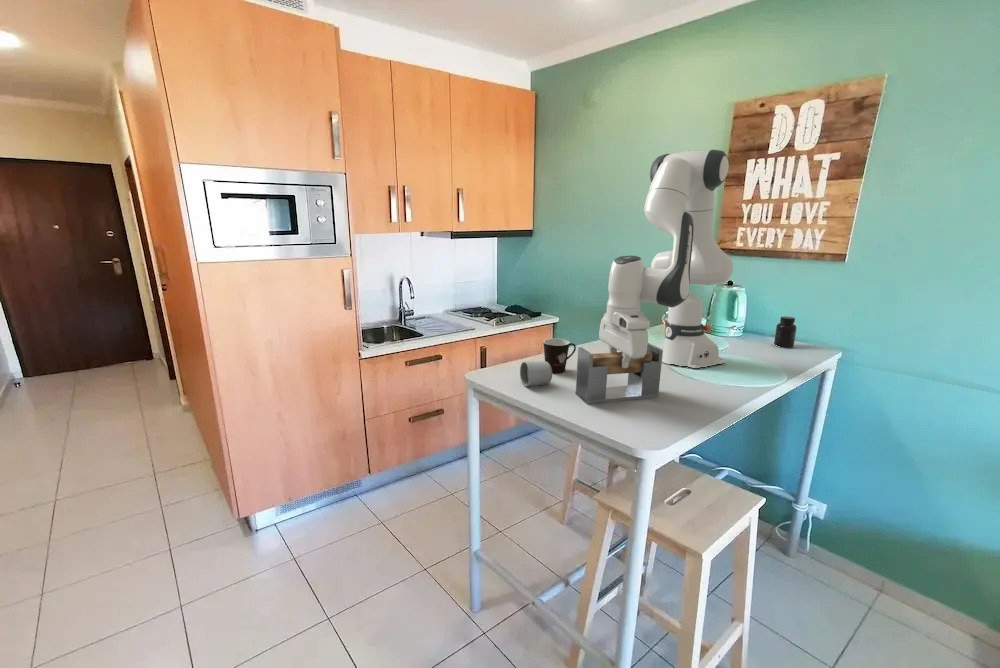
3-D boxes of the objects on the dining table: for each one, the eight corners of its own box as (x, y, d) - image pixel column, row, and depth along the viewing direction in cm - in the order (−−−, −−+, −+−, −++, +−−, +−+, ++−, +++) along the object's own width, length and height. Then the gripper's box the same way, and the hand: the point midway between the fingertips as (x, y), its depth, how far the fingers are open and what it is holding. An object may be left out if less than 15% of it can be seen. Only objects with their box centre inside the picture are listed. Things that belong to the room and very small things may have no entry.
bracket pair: (643, 387, 130) (647, 342, 126) (658, 397, 122) (663, 350, 119) (575, 393, 125) (577, 347, 121) (587, 404, 117) (590, 355, 114)
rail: (643, 366, 126) (644, 350, 124) (650, 371, 122) (652, 354, 121) (585, 371, 122) (586, 354, 120) (592, 375, 118) (593, 358, 117)
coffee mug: (544, 375, 140) (545, 345, 138) (540, 366, 148) (541, 338, 146) (579, 374, 140) (581, 345, 138) (574, 366, 149) (575, 338, 146)
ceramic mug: (553, 386, 130) (554, 362, 128) (528, 390, 127) (529, 365, 125) (538, 376, 140) (539, 353, 138) (515, 379, 137) (515, 355, 135)
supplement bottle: (787, 344, 178) (792, 315, 175) (796, 348, 171) (802, 319, 168) (770, 343, 179) (774, 315, 176) (778, 348, 172) (783, 319, 169)
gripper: (595, 309, 127) (592, 354, 130) (631, 324, 108) (627, 377, 111) (614, 308, 128) (611, 353, 132) (654, 323, 109) (649, 375, 112)
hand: (619, 364), depth 121 cm, fingers closed on rail, 4 cm apart
